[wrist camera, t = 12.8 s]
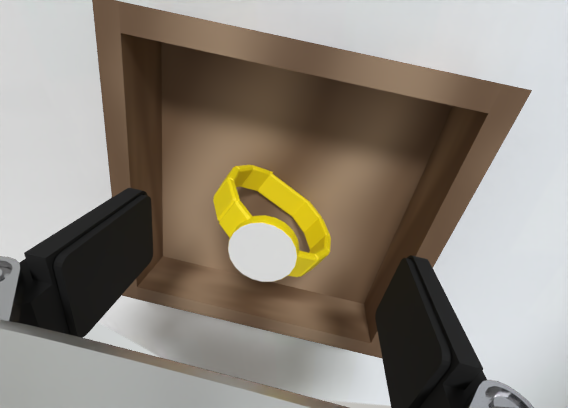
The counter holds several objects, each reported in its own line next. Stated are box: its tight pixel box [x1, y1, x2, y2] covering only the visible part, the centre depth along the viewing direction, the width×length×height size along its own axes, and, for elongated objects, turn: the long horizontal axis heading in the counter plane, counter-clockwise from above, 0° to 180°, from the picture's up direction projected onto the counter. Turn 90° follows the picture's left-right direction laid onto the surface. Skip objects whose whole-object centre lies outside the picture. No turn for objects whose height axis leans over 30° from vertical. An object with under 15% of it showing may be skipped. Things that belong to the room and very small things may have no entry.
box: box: [92, 0, 532, 358], centre depth 15 cm, size 16×15×4 cm
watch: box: [213, 165, 331, 282], centre depth 13 cm, size 6×3×6 cm, turn 53°
